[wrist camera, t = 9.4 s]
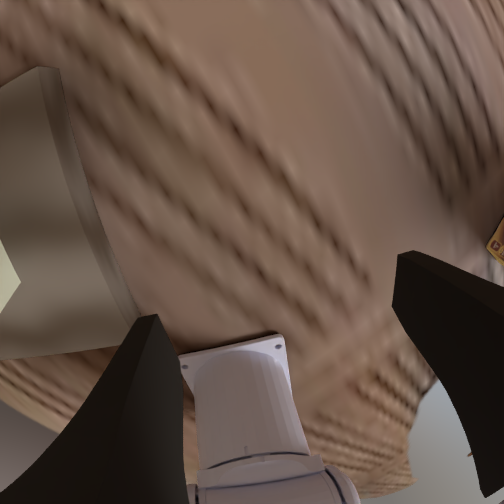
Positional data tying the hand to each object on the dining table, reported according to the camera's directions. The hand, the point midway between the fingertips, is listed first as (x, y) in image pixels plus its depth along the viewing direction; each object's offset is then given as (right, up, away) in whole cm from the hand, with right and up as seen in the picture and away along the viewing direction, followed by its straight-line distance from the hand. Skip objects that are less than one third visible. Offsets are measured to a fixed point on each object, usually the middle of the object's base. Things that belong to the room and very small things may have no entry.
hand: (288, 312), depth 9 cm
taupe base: (-17, +3, +6) cm, 19 cm away
